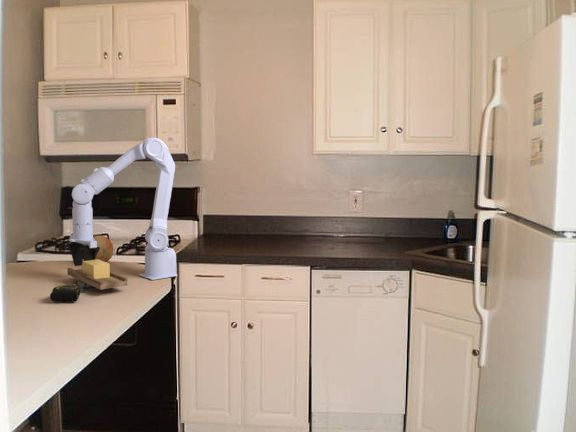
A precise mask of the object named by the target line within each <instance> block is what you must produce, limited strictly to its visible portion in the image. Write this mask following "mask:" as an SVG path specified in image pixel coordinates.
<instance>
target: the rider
mask: <svg viewBox="0 0 576 432" xmlns="http://www.w3.org/2000/svg"><path fill="white" fill-rule="evenodd" d="M81 266H82V268H81V269H82V270H83V274H86V275H88V276H90V277H92V278H95V279H100V278H107V277H110V272H111V270H110V267H111V265H110V263H109V262H108V261H107V262H104V261H101V260H99V259H96V260H89V261H82V265H81Z"/></svg>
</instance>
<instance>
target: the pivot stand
mask: <svg viewBox="0 0 576 432" xmlns="http://www.w3.org/2000/svg"><path fill="white" fill-rule="evenodd" d="M72 285H76V286H78V287H79V289H80V293H88V292H94V291H100V289H98V288H96V287H94V286H87V283H85V282H83V281H79V280H76V283H75V284H74V283H73V284H72Z"/></svg>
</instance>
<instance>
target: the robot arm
mask: <svg viewBox="0 0 576 432" xmlns="http://www.w3.org/2000/svg"><path fill="white" fill-rule="evenodd" d="M146 157H147V158H148V159H150V160H151V161H152V162H153V163H154V165H155V166H156V167H157V169H158V175H157V182H156V189H155V194H154V201H153V207H152V214H151V219H150V221H149V225H148V228H147V229H146V231H145V233H144V239H145V241H146V243H147V244H146V246H145V247H144V273H139V277H140V276H141V277H143V278H146V279H148V280H150V281H155V280H156V281H157V280H162V279H167V278H173V277H178V274H177V253H176V251H175V249H174V248H173V247H168V244H169V236H168V215H169V210H170V204H171V203H170V202H171V198H172V191H173V186H174V184H173V183H174V177H175V171H176V163H175V161H174V158H173V157H172V154H171V152H170V149H169V147H168V146H167V144H165V143H164V141H163V140H162V139H160V138H158V137H148V138H144V140H143V141H142V142H139V143H137V144H135V145H134V146H132V147H131V148H129V149H127V151H126V152H124V153H123V154H122V155H120V156H119V157H118V158H117V159H116V160H115V161H114V162H112V163H111V164H110V165H108V167H105V166H100V167H98V168H97V167H95V168H94V169H93V170H92V171H93V172H92V173H91V174H90V175H88V176H87V177H86V178H82V179H81V180H80V182H81V183H78V184H77V185H75V186H74V187H73V188H72V190H71V191H72V192H71V197H72V200H73V201H72V209H71V212H72V234H69V238H68V241H69V242H68V243H66V247H67V248H68V250H69V252H70V254H71V255H70V256H71V258H72V262H73V265H74V267H79V266H82V261H89V260H95V258H96V255H97V253H98V252H99V250H100V247H97V241H95V239H94V238H93V236H94V226H93V225H94V222H93V221H94V216H93V213H94V212H93V211H94V210H93V209H94V208H93V207H92V200H93V198H94V196H95V195H99V194H100V193H101V192H103V191H104V190H105V189H106V188H108V186H110V185H111V184H113V183H114V181H115V176H116V175H117V174H118V173H120V172H121V171H122V170H124V169H126V168H127V167H129V165H131V164H132V163H133V162H135V161H137V160H143V159H146Z"/></svg>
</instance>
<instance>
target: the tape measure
mask: <svg viewBox="0 0 576 432" xmlns="http://www.w3.org/2000/svg"><path fill="white" fill-rule="evenodd" d="M80 294H81V292H80V289H79V287H78V286H76V285H73V284H63V285H58V286H55V287H53V288H52V291H51V293H50V294H49V295H50V296H49V298H50V301H52V302H56V303H57V302H58V303H68V302H78V299H79V298H80Z"/></svg>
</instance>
